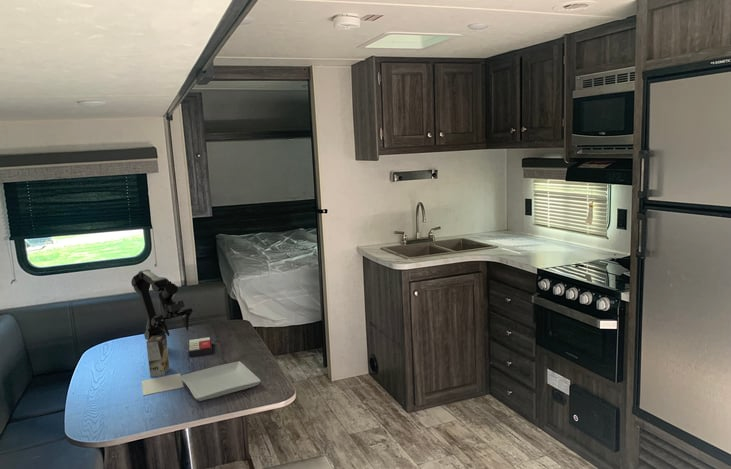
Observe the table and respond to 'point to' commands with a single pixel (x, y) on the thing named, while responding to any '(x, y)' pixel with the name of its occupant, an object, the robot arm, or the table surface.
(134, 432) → the table surface
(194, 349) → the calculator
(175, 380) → the mat
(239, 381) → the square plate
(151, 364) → the coffee box
